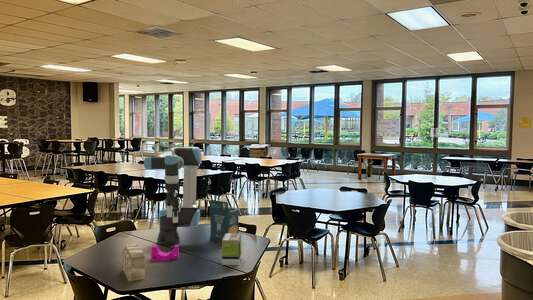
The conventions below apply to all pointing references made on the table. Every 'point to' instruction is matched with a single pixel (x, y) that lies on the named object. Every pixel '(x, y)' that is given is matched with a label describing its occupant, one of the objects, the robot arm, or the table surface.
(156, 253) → the toy block
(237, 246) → the tea box
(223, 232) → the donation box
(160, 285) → the table surface
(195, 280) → the table surface
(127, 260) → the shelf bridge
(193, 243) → the table surface
